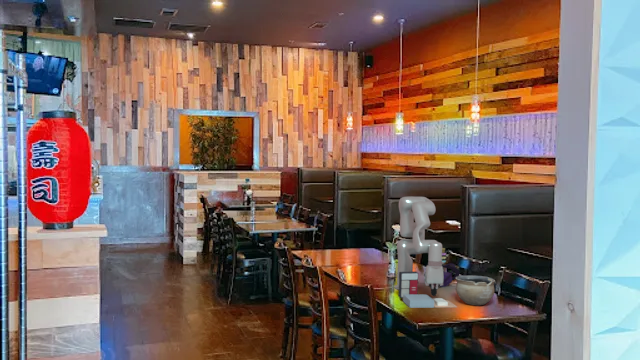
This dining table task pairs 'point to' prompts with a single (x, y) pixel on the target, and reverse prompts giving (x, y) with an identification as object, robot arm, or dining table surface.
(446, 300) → the mat
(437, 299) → the tile
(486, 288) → the ceramic bowl
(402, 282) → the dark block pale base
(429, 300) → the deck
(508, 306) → the dining table surface
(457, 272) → the decorative bottle
